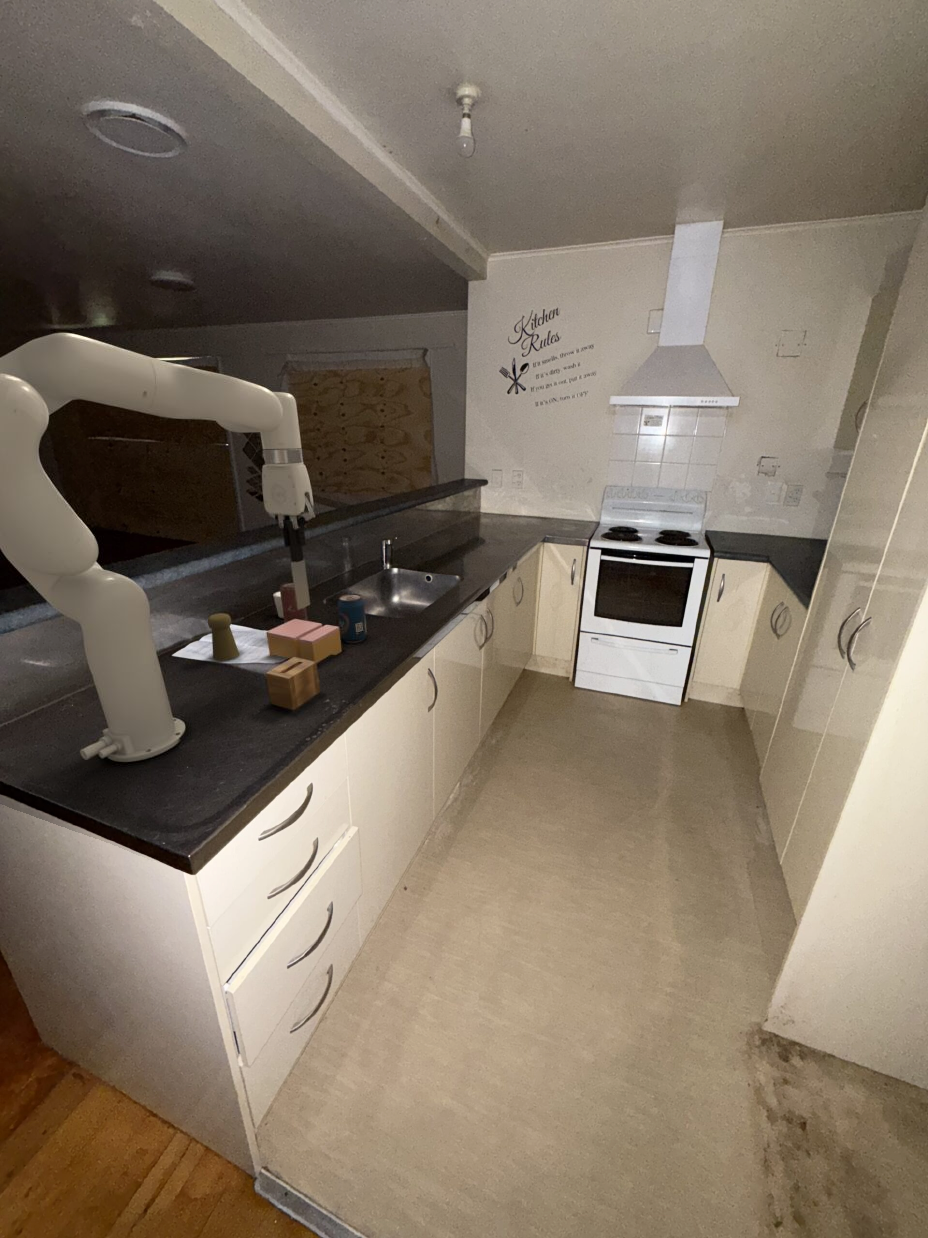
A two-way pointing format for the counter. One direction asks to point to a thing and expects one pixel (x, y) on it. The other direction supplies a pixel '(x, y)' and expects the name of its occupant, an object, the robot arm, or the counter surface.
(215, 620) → the olive pepper shaker
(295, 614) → the can
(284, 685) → the knife block
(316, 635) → the cake slice
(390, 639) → the counter surface
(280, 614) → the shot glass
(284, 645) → the cake
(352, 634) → the soda can
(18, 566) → the robot arm
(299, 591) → the knife
